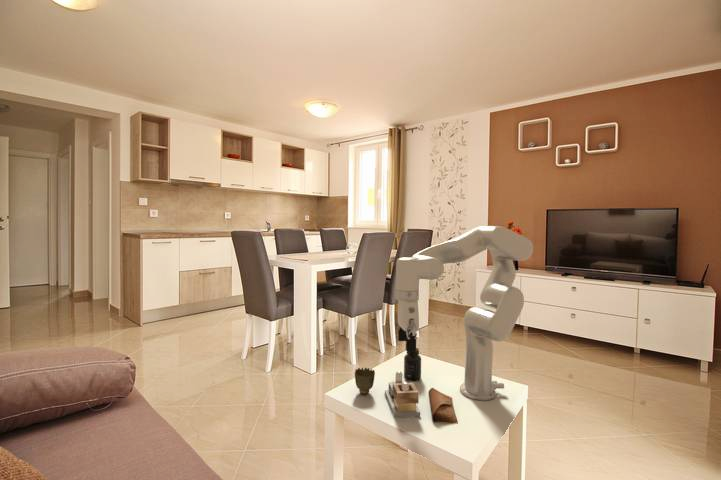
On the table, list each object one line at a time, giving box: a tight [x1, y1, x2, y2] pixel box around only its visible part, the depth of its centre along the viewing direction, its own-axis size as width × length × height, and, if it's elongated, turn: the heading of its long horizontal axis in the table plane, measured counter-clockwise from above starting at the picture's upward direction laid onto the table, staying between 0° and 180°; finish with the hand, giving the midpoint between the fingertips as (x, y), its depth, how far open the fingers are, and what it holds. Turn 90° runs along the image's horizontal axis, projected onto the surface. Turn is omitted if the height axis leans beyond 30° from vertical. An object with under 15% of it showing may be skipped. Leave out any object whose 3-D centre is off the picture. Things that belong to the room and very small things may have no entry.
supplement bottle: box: [403, 347, 422, 383], centre depth 143 cm, size 7×7×12 cm
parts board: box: [384, 389, 421, 419], centre depth 122 cm, size 8×16×2 cm, turn 7°
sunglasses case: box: [428, 387, 459, 424], centre depth 120 cm, size 18×7×7 cm, turn 174°
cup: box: [354, 367, 376, 395], centre depth 130 cm, size 8×7×8 cm
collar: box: [392, 382, 420, 404], centre depth 117 cm, size 7×7×4 cm
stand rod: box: [387, 370, 405, 399], centre depth 126 cm, size 6×6×8 cm
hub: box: [394, 381, 417, 412], centre depth 117 cm, size 6×6×8 cm
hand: (406, 345), depth 119 cm, fingers open, 9 cm apart
